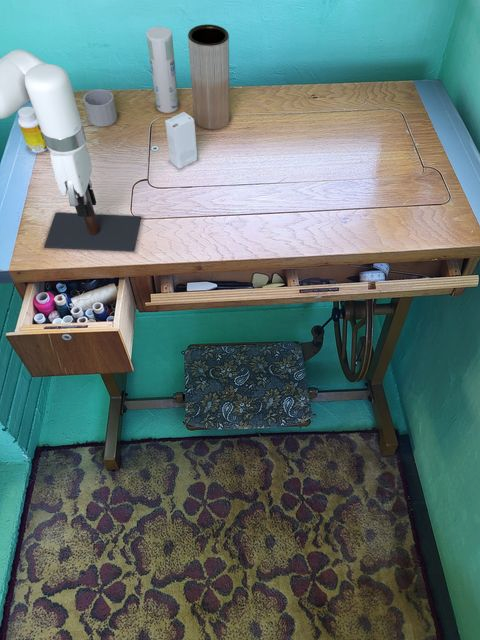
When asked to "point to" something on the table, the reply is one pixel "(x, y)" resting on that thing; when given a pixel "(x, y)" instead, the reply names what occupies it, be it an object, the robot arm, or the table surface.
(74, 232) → the felt mat
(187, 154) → the cosmetic box
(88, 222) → the walnut stick
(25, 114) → the supplement bottle
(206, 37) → the planter
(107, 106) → the tin
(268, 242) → the table surface
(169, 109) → the spray can
